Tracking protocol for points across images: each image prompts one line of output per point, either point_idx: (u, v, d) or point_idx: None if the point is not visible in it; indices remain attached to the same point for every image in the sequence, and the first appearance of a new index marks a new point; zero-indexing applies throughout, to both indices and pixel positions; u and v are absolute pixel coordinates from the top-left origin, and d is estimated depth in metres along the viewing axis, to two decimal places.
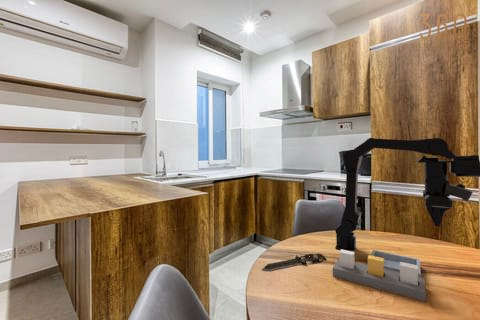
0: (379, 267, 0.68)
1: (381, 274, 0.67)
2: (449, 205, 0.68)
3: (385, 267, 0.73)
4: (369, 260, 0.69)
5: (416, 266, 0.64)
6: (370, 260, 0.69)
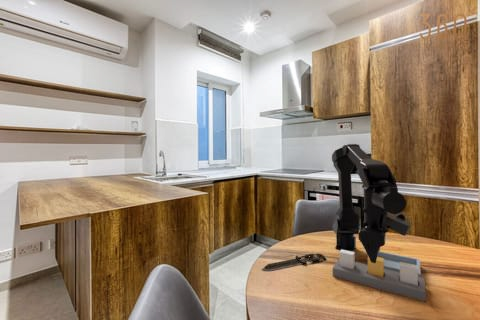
0: (379, 267, 0.68)
1: (381, 274, 0.67)
2: (381, 242, 0.60)
3: (385, 267, 0.73)
4: (369, 260, 0.69)
5: (416, 266, 0.64)
6: None
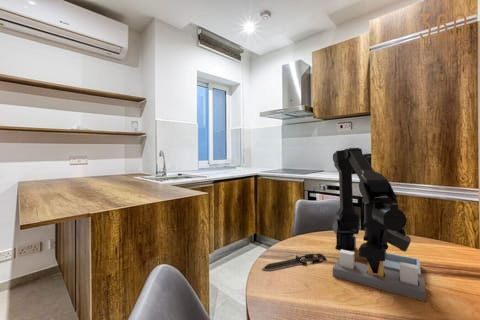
0: (379, 267, 0.68)
1: (381, 274, 0.67)
2: (381, 259, 0.60)
3: (385, 267, 0.73)
4: None
5: (416, 266, 0.64)
6: None
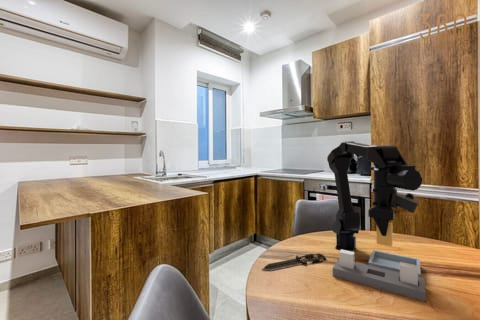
0: (388, 230, 0.71)
1: (389, 236, 0.71)
2: (390, 218, 0.64)
3: (385, 267, 0.73)
4: None
5: (416, 266, 0.64)
6: None
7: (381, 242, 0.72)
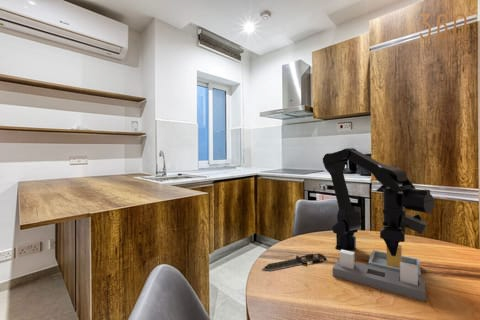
0: (397, 253, 0.75)
1: (399, 259, 0.75)
2: (401, 240, 0.67)
3: (385, 267, 0.73)
4: None
5: (416, 266, 0.64)
6: None
7: (391, 265, 0.76)
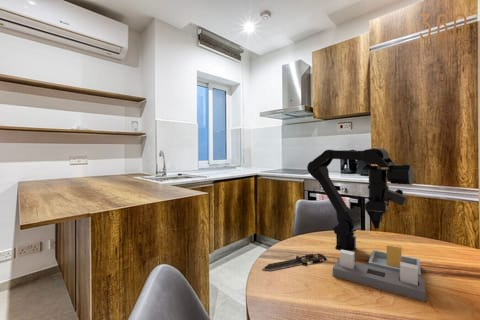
0: (397, 253, 0.75)
1: (399, 259, 0.75)
2: (383, 209, 0.75)
3: (385, 267, 0.73)
4: (388, 247, 0.76)
5: (416, 266, 0.64)
6: (389, 247, 0.76)
7: (391, 265, 0.76)
